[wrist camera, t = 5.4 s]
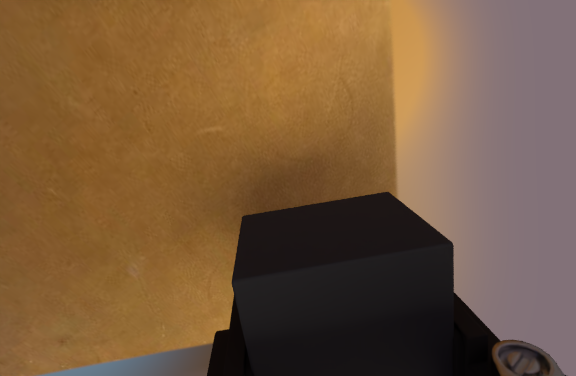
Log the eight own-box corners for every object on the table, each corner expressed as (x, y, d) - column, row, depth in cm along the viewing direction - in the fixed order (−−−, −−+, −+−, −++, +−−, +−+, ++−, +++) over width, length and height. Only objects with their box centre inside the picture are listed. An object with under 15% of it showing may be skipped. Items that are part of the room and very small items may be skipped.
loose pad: (241, 215, 11) (230, 281, 7) (388, 190, 11) (455, 242, 7) (279, 398, 13) (285, 522, 9) (400, 376, 13) (455, 489, 10)
